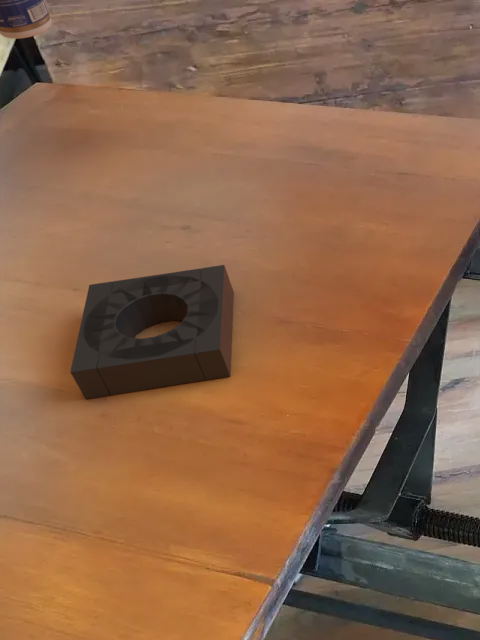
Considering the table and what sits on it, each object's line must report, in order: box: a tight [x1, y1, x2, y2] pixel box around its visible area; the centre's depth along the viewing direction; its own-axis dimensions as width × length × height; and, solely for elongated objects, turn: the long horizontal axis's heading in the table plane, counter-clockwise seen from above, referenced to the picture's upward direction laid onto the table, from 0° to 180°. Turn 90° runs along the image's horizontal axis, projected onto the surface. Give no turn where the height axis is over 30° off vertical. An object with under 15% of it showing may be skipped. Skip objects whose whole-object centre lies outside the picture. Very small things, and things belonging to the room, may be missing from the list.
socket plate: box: [70, 264, 235, 400], centre depth 77 cm, size 12×12×3 cm
